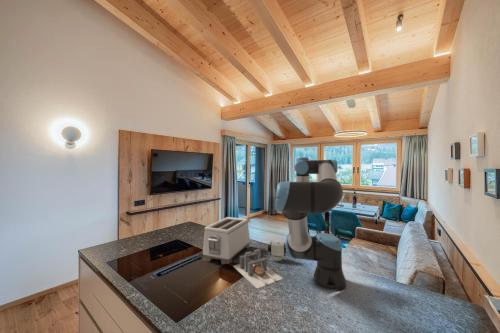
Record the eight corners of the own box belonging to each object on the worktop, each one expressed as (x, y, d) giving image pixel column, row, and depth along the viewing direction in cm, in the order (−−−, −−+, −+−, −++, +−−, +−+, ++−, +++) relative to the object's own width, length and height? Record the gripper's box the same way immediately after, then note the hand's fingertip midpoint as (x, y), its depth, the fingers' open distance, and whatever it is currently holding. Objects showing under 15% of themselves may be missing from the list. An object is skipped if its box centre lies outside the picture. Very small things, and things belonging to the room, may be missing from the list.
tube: (265, 274, 110) (264, 267, 109) (259, 278, 108) (258, 270, 107) (248, 261, 125) (247, 254, 125) (242, 264, 123) (241, 257, 123)
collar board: (283, 280, 106) (282, 258, 106) (257, 290, 98) (256, 267, 98) (255, 260, 129) (255, 243, 129) (232, 267, 120) (232, 248, 120)
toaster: (199, 262, 128) (198, 229, 128) (227, 243, 159) (227, 216, 159) (226, 268, 120) (225, 233, 120) (250, 246, 151) (249, 218, 151)
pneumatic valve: (287, 264, 124) (287, 244, 124) (268, 262, 126) (267, 242, 126) (287, 259, 129) (287, 240, 129) (269, 258, 131) (268, 239, 131)
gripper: (315, 183, 121) (316, 223, 121) (299, 182, 132) (300, 218, 132) (306, 184, 117) (307, 225, 117) (290, 182, 128) (291, 220, 129)
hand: (303, 222), depth 125 cm, fingers closed
